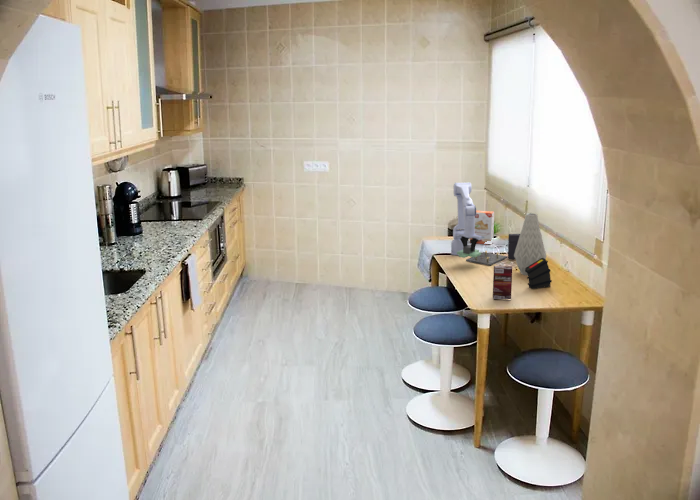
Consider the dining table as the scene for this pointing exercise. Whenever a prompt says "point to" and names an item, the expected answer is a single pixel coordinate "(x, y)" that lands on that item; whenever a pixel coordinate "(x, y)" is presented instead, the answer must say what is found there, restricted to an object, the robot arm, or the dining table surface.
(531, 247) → the vase
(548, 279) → the magazine
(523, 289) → the dining table surface
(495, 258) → the chassis plate
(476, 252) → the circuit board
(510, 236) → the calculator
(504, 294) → the supplement box
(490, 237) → the cracker box
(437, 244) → the dining table surface
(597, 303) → the dining table surface
